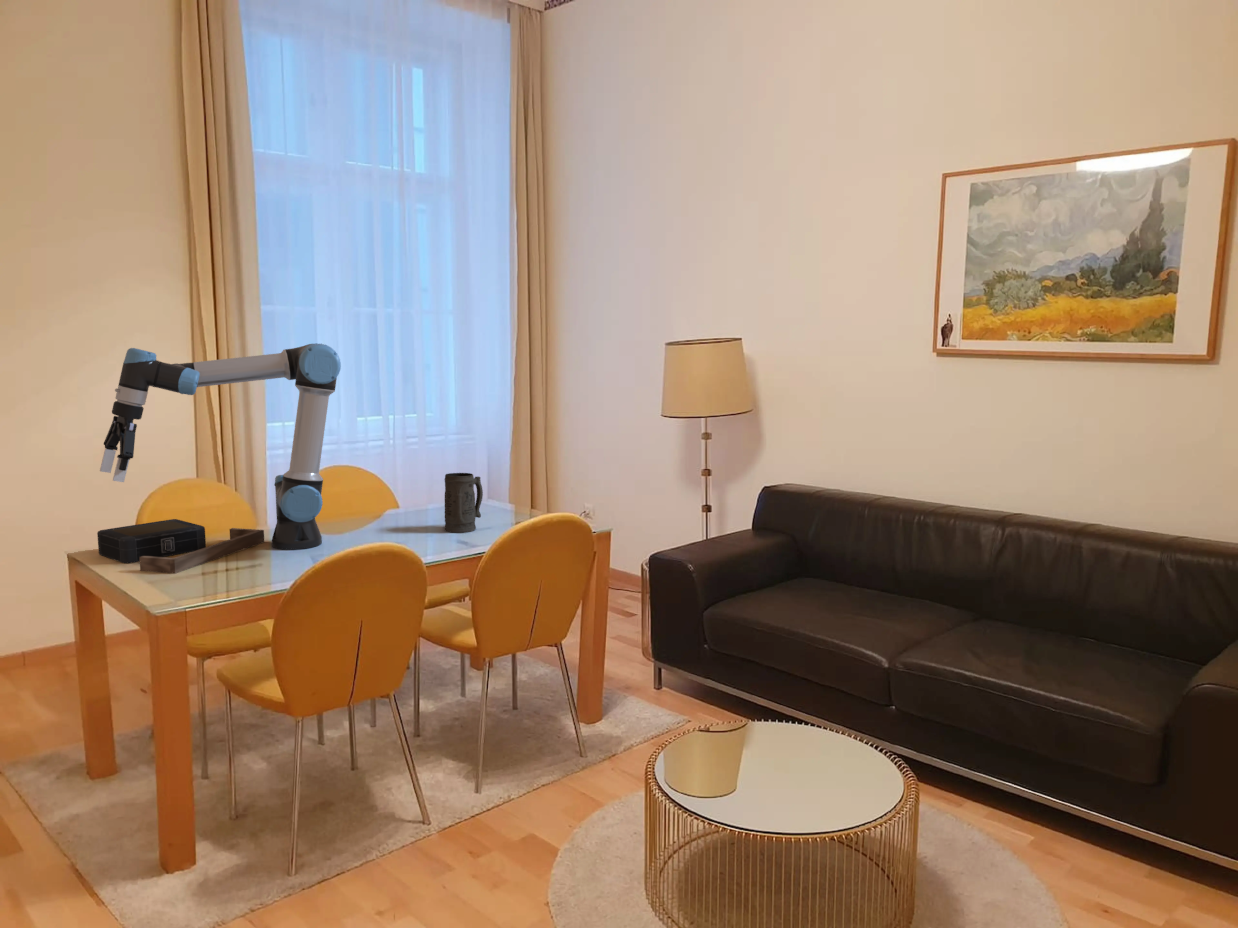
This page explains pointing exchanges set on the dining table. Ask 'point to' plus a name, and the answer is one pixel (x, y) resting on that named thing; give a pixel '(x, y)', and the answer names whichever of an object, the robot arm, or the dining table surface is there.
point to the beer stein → (461, 502)
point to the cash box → (151, 540)
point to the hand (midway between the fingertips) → (111, 476)
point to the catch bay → (204, 552)
